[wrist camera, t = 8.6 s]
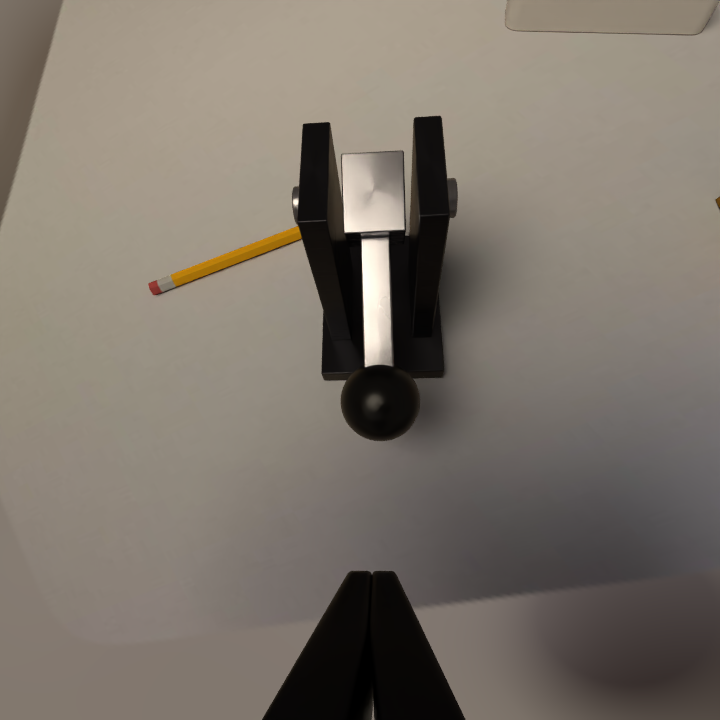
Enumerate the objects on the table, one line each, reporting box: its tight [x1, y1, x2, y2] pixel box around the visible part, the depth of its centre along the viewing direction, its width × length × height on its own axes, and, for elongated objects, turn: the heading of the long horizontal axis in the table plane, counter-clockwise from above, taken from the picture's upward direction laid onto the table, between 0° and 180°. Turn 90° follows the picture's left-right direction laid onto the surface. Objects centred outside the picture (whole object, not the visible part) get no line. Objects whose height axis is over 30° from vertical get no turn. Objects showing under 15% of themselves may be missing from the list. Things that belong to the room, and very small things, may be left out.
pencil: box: [148, 226, 302, 295], centre depth 28 cm, size 1×13×1 cm, turn 112°
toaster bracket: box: [292, 116, 458, 380], centre depth 21 cm, size 8×6×10 cm
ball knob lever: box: [341, 151, 420, 441], centre depth 18 cm, size 10×3×3 cm, turn 0°
